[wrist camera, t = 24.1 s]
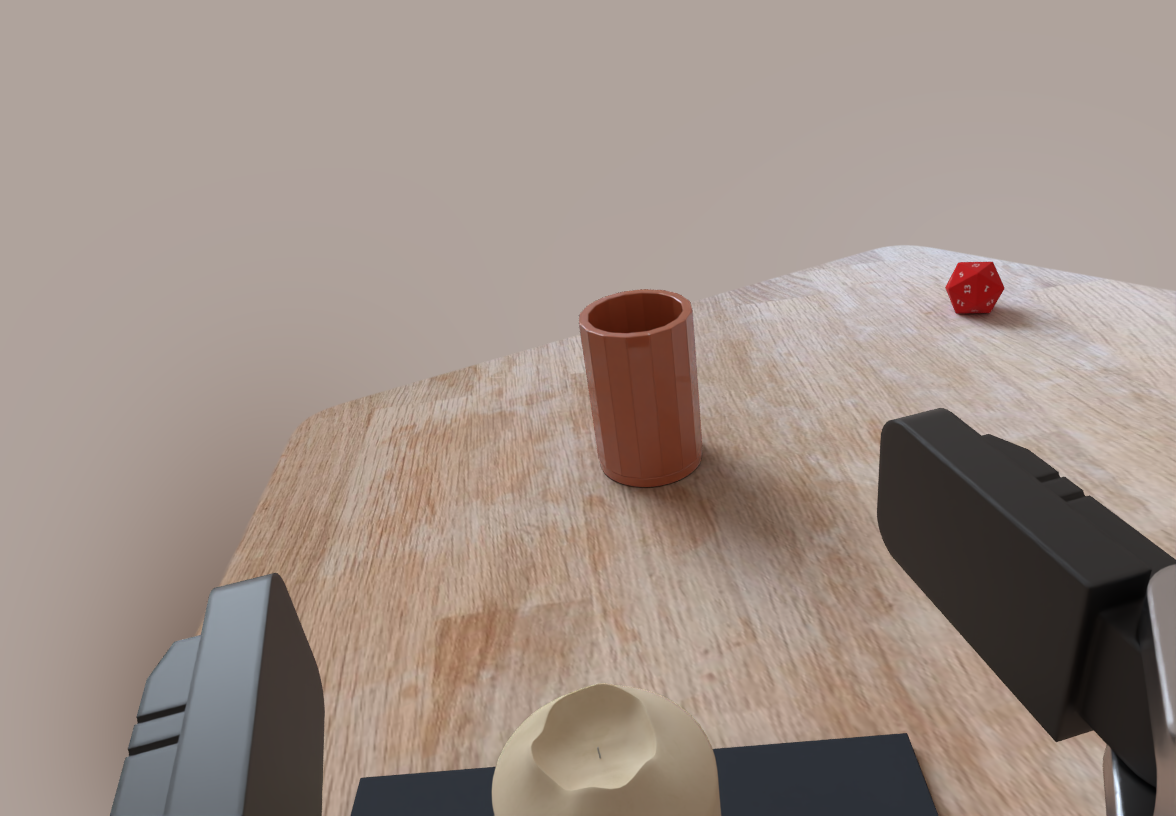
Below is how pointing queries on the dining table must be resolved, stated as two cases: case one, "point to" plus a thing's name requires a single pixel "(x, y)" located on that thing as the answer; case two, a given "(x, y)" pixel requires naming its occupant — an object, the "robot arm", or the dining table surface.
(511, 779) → the candle
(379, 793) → the slate mat
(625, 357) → the terracotta cup
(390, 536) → the dining table surface
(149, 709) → the robot arm
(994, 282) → the die
